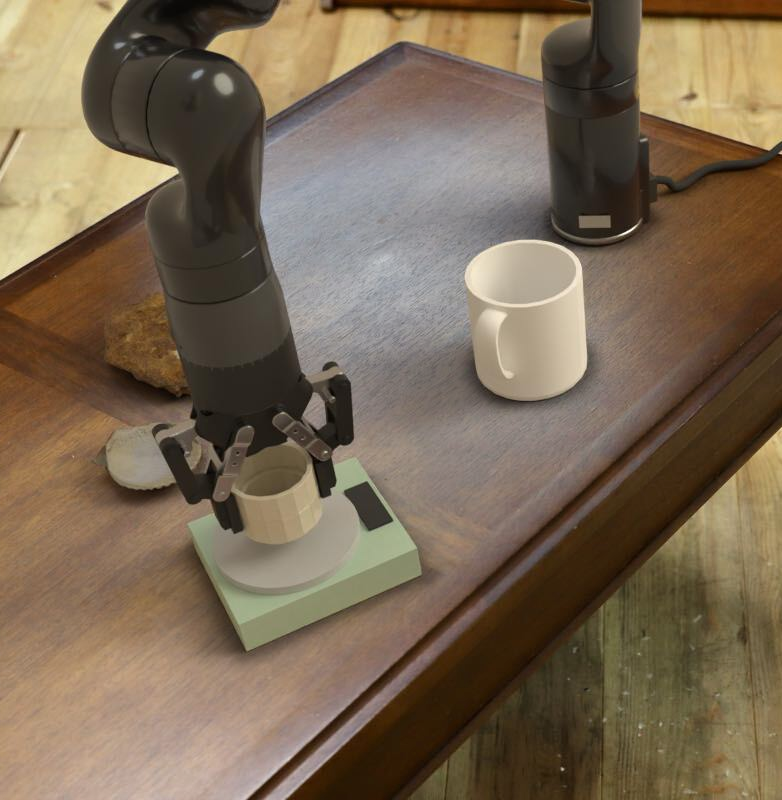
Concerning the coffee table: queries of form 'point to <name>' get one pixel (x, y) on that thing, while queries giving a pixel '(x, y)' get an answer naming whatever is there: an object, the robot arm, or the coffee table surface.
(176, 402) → the coffee table surface
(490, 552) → the coffee table surface
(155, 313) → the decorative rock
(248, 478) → the beige faceted cup
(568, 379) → the mug
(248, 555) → the kitchen scale
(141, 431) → the seashell
